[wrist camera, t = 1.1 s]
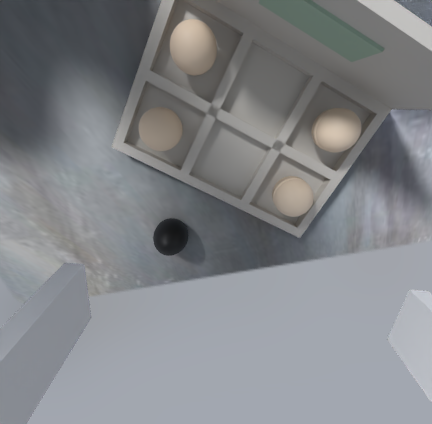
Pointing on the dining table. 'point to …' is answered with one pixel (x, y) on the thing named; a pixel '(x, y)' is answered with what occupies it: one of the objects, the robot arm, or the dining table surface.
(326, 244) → the dining table surface
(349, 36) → the carton
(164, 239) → the egg
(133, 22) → the dining table surface
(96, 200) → the dining table surface
